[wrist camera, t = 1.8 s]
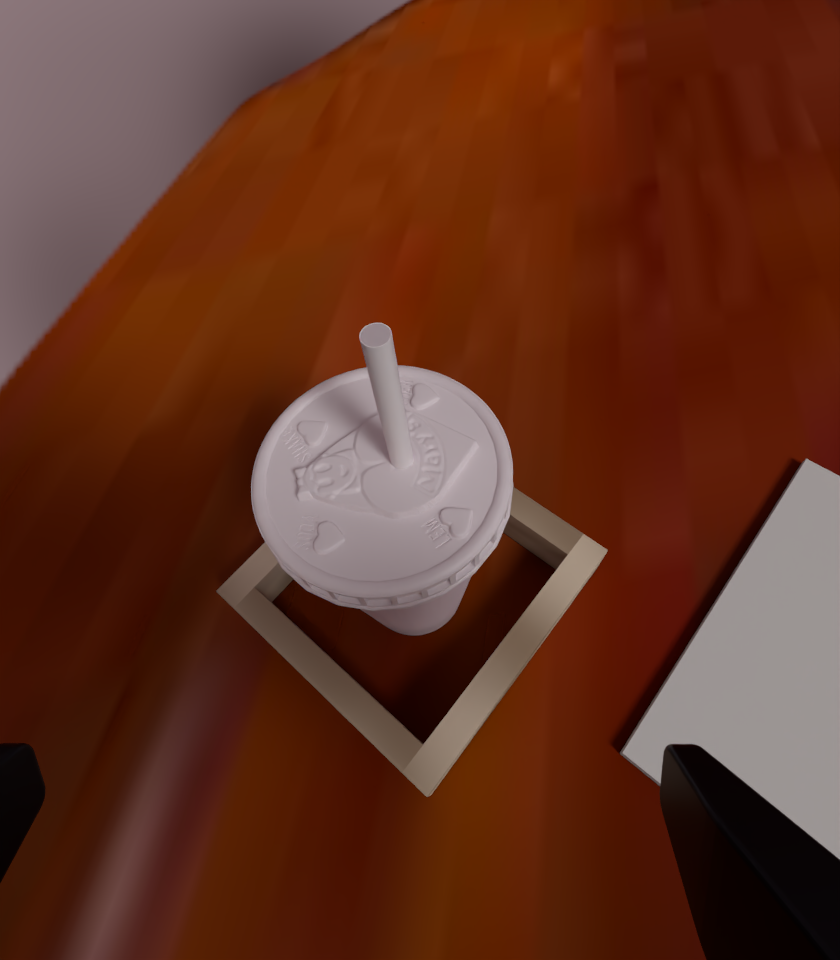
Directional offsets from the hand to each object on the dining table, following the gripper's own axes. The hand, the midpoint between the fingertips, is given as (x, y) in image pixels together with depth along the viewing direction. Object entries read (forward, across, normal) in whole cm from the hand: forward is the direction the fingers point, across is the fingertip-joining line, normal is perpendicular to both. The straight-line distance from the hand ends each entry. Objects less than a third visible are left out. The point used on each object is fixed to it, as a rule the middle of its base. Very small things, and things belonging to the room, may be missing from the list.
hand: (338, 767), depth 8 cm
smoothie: (+13, 0, +4) cm, 14 cm away
